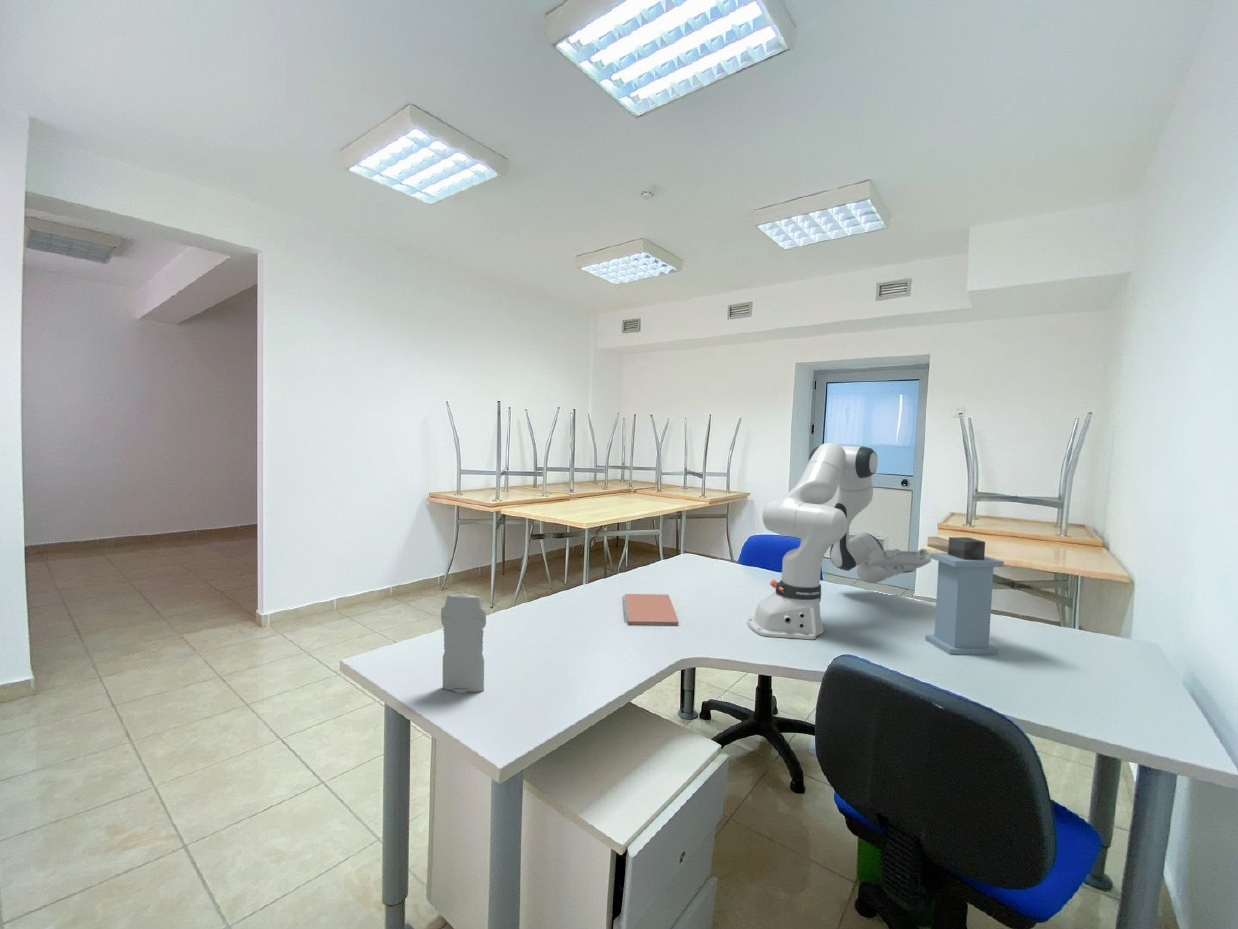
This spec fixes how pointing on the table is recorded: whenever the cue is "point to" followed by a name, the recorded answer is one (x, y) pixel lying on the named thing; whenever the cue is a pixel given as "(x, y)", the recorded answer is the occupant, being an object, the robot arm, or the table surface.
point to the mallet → (959, 547)
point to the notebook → (649, 610)
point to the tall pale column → (463, 643)
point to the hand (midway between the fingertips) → (911, 551)
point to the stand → (963, 605)
